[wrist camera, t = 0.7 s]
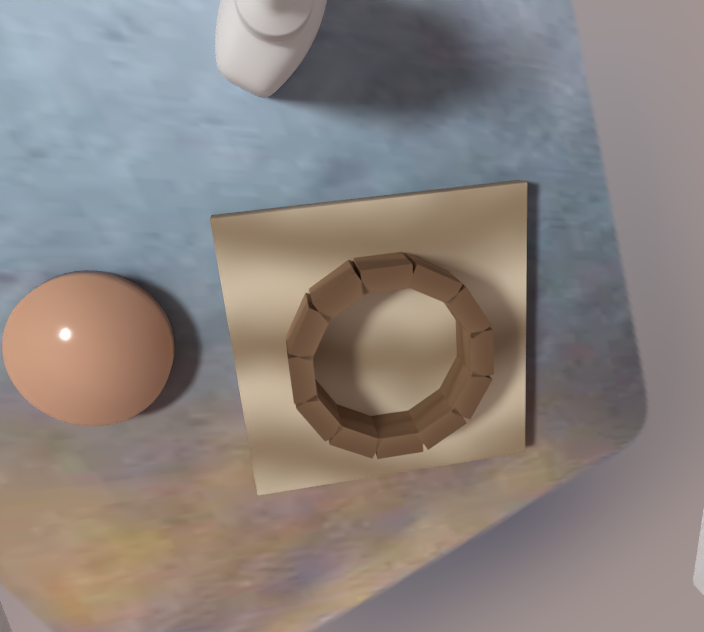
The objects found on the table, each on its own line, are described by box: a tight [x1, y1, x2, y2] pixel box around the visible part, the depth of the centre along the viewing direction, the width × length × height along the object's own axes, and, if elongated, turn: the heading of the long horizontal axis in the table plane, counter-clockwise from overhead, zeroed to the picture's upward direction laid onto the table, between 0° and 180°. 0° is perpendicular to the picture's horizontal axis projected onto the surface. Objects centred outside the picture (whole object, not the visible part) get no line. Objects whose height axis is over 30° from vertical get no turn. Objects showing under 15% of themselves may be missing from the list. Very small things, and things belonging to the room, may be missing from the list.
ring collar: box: [210, 180, 527, 495], centre depth 32 cm, size 16×16×4 cm
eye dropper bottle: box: [215, 0, 327, 98], centre depth 22 cm, size 4×6×12 cm
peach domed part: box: [2, 270, 175, 426], centre depth 31 cm, size 8×8×2 cm
